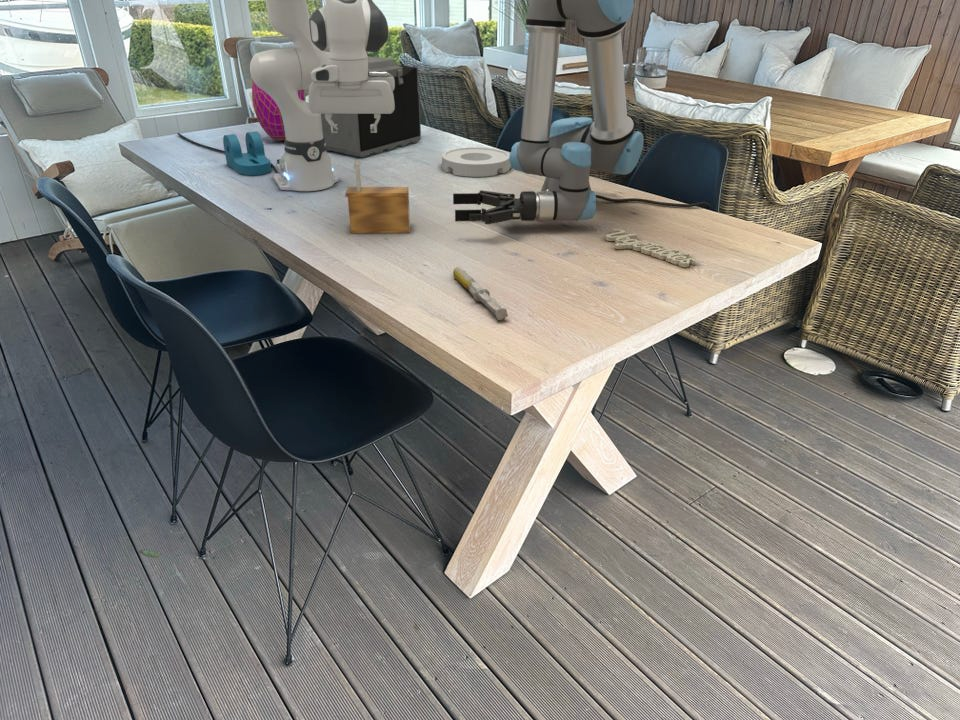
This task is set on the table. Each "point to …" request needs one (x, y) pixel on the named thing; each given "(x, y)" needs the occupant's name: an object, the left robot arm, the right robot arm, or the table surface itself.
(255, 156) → the camera mount
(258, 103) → the decorative egg
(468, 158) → the ashtray
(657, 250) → the decorative sign
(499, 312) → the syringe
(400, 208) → the chest
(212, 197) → the table surface
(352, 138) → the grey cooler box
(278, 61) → the left robot arm
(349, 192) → the lid
